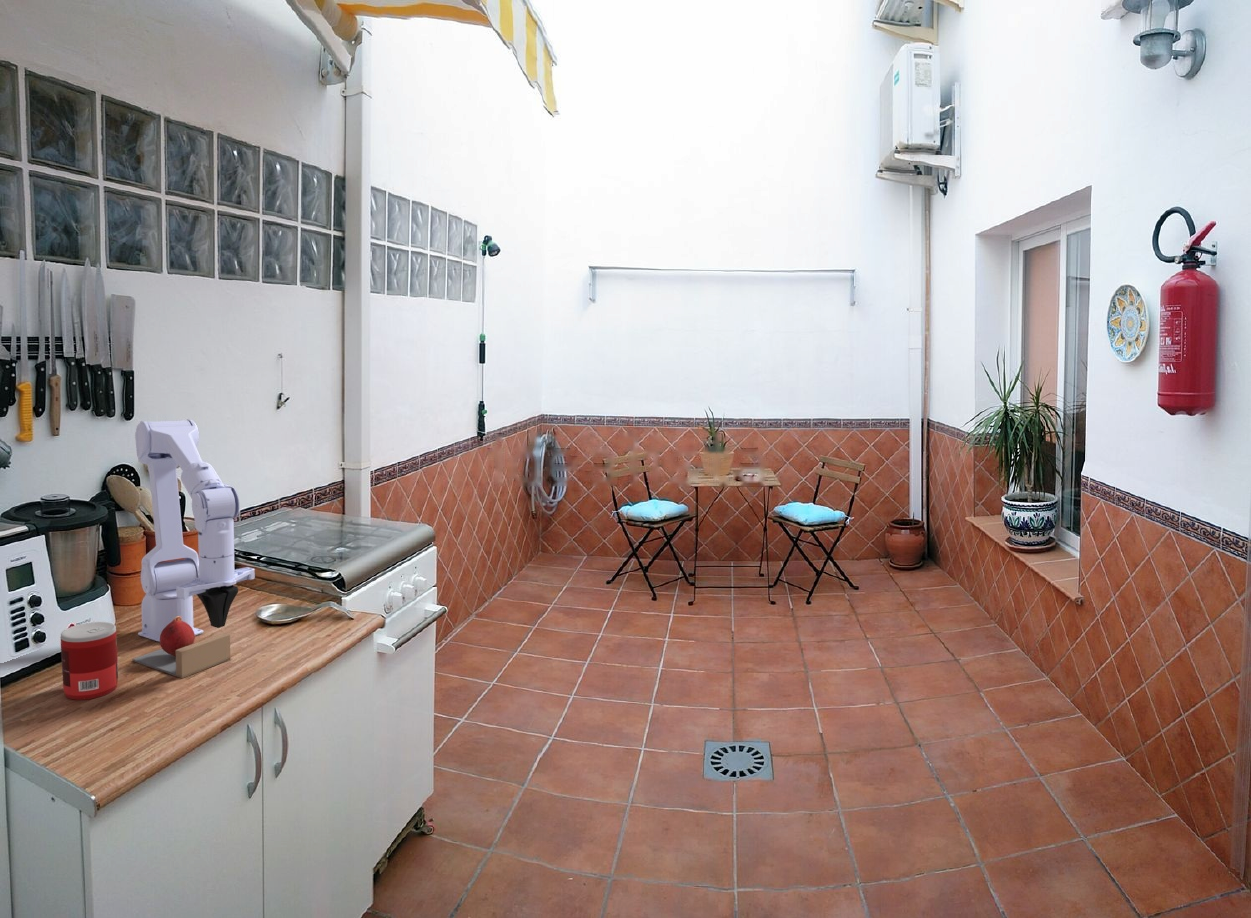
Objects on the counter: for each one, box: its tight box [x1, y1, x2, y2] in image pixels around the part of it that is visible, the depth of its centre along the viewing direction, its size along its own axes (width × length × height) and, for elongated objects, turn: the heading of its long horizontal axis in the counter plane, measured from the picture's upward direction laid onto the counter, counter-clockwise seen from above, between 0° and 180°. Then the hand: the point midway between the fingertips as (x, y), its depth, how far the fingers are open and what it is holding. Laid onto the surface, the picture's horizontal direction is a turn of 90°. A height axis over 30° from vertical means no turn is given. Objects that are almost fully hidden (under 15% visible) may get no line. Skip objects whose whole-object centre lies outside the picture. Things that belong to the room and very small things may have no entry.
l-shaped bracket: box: [132, 632, 231, 679], centre depth 153 cm, size 14×10×5 cm
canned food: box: [60, 621, 119, 701], centre depth 139 cm, size 8×8×11 cm
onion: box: [159, 616, 196, 657], centre depth 153 cm, size 6×6×8 cm
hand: (218, 625), depth 148 cm, fingers closed
